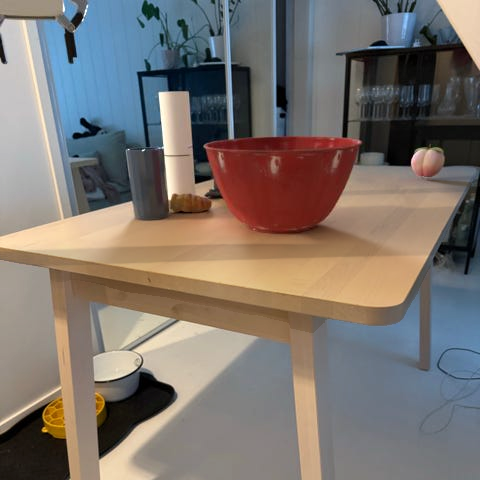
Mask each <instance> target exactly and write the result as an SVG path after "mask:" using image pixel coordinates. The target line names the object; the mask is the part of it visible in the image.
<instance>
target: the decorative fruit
mask: <svg viewBox="0 0 480 480" xmlns="http://www.w3.org/2000/svg"><path fill="white" fill-rule="evenodd" d="M444 154H445V152H444V150H443V149H442V148H441V147H432V144H431V143H429V147H419V148H416V149H415V150H414V154H413V156H412V158H411V161H410V163H411V168H412V170H413V172H414V173H415V174H416V175H417V176H419V177H420V176H424V177H430V178H432V177H434V176H436V175H438V174H439V173H440V172H441V170H442V169H443V168H444V165H445V158H446V157H445V155H444Z"/></svg>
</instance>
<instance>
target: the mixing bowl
mask: <svg viewBox="0 0 480 480" xmlns="http://www.w3.org/2000/svg"><path fill="white" fill-rule="evenodd" d="M362 144H363V141H362V140H360V139H356V138H349V137H339V136H338V137H336V136H313V135H312V136H311V135H309V136H308V135H307V136H305V135H304V136H302V135H301V136H299V135H298V136H297V135H295V136H292V135H291V136H260V137H259V136H258V137H244V138H241V137H240V138H231V139H230V138H229V139H224V140H223V139H222V140H216V141H211V142H207V143H205V144H204V145H203V148H204V149H205V151H206V155H207V159H208V163H209V165H210V168H211V171H212V174H213V179H214V178H215V180H216V183H217V185H218V188H219V190H220V192H221V194H222V196H223V197H222V196H221V197H222V198H223V200H224V202H225V204H226V206H227V208H228V209H229V211H230V212H231V214H232V216H233V217H234V218H235V219H236V220H237V221H239V222H240V223H241V224H243V225H245V226H246V227H247V228H248V229H250V230H253V231H254V232H255V231H256V232H259V233H260V232H261V233H268V234H292V233H293V234H294V233H301V232H305V231H308V230H311V229H313V228H315V227H316V226H317V225H319V224H320V223H322V222H324V220H325V219H327V218H328V217H329V216H330V214H331V213H332V211H333V210H334V209H335V208H336V205H337V204H338V202H339V200H340V198H341V197H342V194H343V192H344V190H345V188H346V186H347V184H348V182H349V179H350V176H351V174H352V171H353V168H354V166H355V163H356V160H357V156H358V153H359V149H360V146H361V145H362Z"/></svg>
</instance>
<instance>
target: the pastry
mask: <svg viewBox="0 0 480 480" xmlns="http://www.w3.org/2000/svg"><path fill="white" fill-rule="evenodd" d="M212 205H213V201H212V200H211V199H209V198H208V197H203V196H201V195H197V194H196V195H192V194H190V193H189V194H180V195H178V194H176V193H174V194H172V197H171V200H170V202H169V210H170V211H172V212H174V213H179V212H180V211H182V212H184V213H189V212H192V213H195V212H196V213H198V212H204V211H209V210H210V209H211V208H212Z"/></svg>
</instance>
